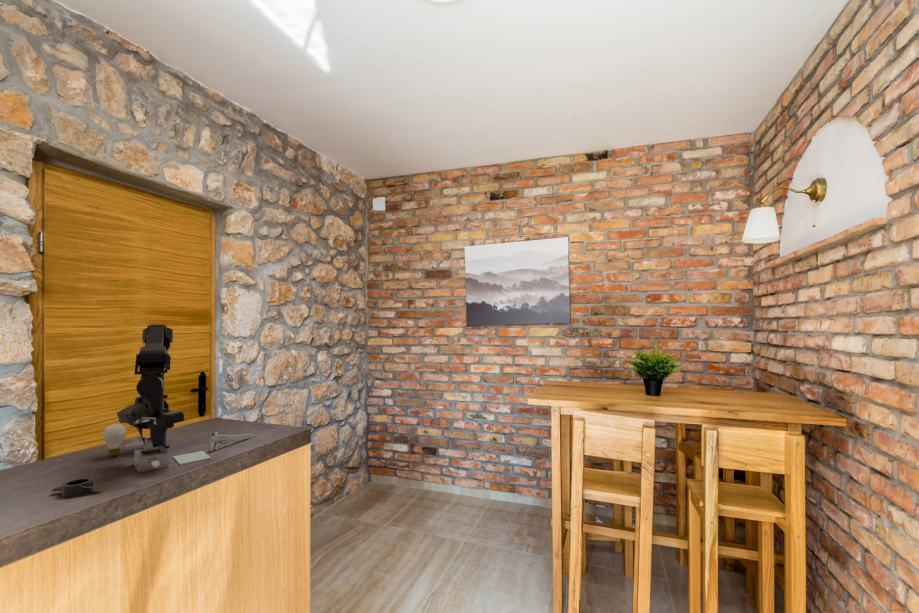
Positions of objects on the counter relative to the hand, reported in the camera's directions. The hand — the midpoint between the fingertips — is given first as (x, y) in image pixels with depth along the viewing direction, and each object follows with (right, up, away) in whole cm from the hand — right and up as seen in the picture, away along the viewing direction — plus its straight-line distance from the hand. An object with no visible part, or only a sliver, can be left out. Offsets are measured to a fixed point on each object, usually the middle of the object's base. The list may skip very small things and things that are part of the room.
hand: (151, 446), depth 123 cm
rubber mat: (+8, -6, +6) cm, 11 cm away
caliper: (+13, -7, +21) cm, 26 cm away
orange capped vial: (0, -4, 0) cm, 4 cm away
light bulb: (-18, -6, +9) cm, 21 cm away
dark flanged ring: (-3, -5, -20) cm, 21 cm away
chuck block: (+1, -5, -2) cm, 6 cm away
